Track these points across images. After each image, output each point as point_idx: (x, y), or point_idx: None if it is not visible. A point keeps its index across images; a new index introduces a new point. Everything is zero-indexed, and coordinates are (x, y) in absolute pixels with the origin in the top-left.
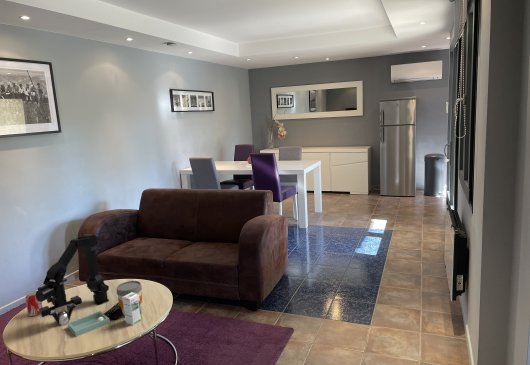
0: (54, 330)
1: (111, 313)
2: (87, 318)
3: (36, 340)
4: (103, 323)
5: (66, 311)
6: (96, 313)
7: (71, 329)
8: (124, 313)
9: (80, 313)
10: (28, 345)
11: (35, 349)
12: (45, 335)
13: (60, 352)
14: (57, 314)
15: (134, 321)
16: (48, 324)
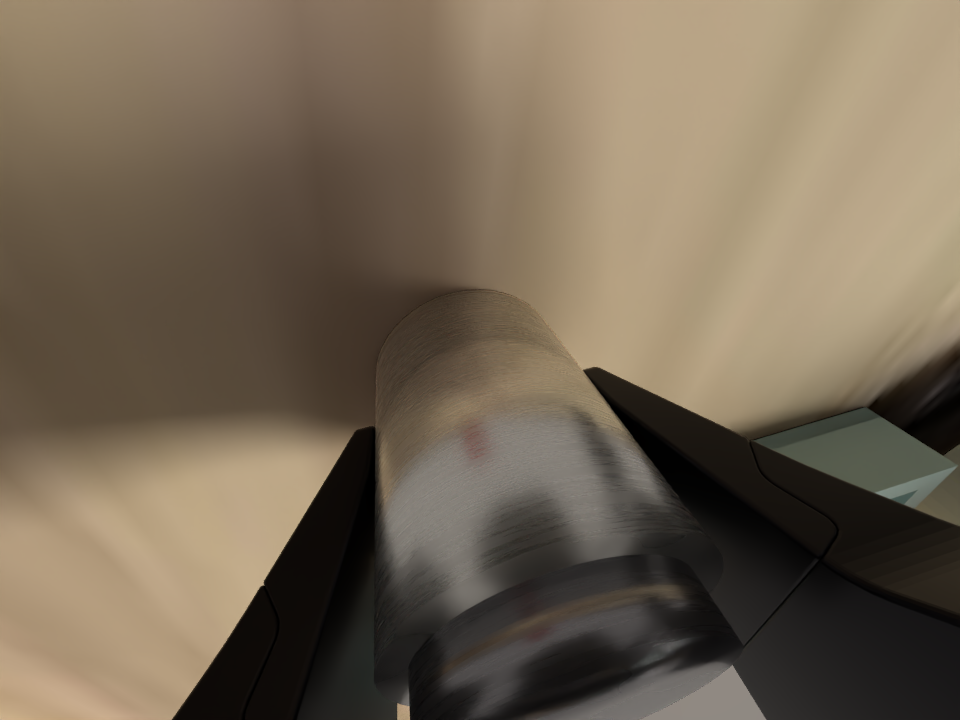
0: (315, 488)
1: (950, 393)
2: None
3: (88, 620)
4: None
5: (706, 578)
6: (884, 495)
7: None
8: (939, 514)
9: (898, 39)
10: (15, 674)
11: (175, 703)
12: (193, 558)
13: (401, 708)
14: (399, 675)
15: None
16: (35, 131)
